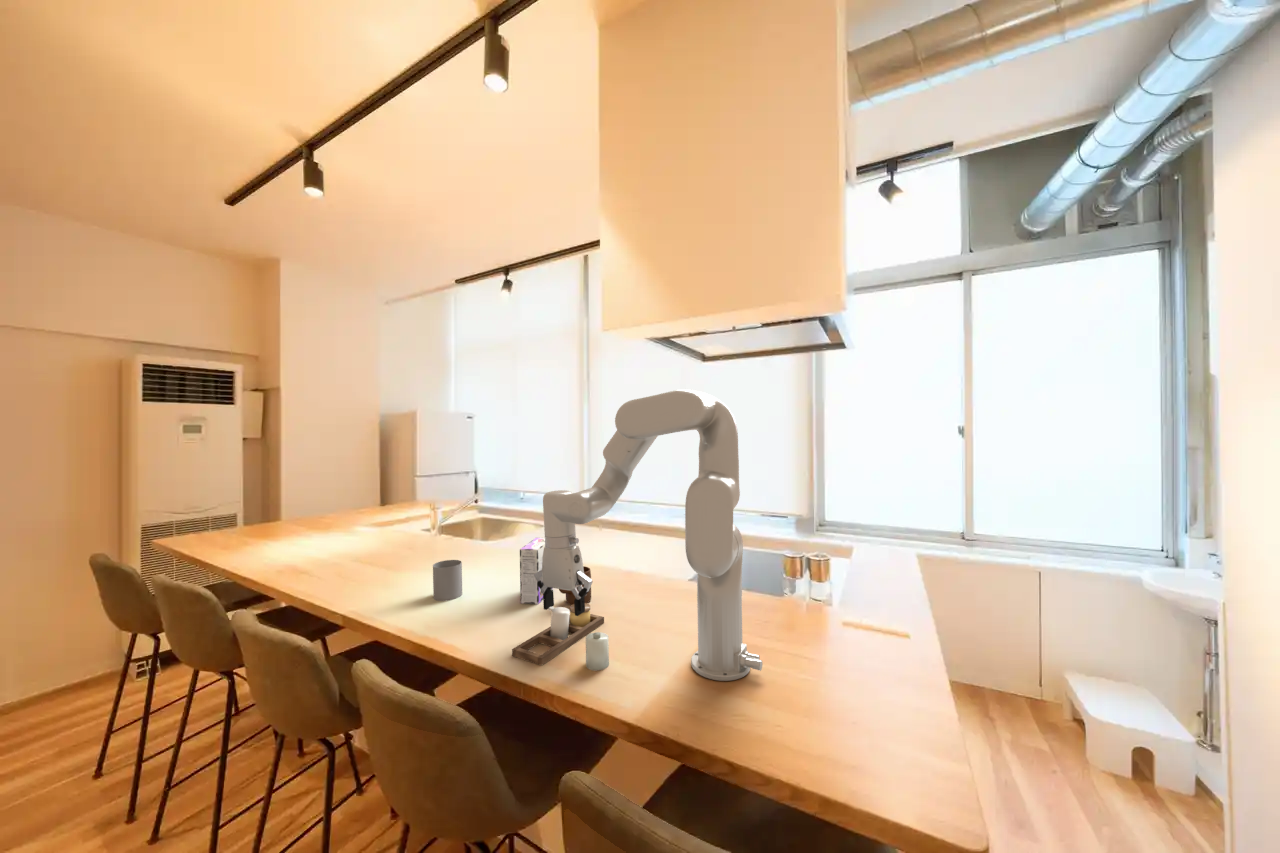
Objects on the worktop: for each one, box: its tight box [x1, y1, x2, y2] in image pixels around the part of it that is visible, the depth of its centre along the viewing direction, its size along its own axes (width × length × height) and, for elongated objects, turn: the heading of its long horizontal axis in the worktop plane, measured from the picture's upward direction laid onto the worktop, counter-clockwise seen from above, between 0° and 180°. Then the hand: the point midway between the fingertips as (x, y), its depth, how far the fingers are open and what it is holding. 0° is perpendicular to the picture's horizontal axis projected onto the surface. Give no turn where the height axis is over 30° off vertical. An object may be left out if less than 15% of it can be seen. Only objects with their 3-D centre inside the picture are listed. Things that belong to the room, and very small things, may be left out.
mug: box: [558, 565, 592, 606], centre depth 137 cm, size 12×8×9 cm, turn 147°
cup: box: [432, 559, 463, 602], centre depth 145 cm, size 8×8×10 cm
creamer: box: [547, 606, 570, 640], centre depth 115 cm, size 6×4×6 cm
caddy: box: [511, 613, 605, 666], centre depth 115 cm, size 9×24×2 cm, turn 150°
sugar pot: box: [585, 631, 610, 672], centre depth 102 cm, size 5×5×7 cm
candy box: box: [519, 537, 553, 605], centre depth 144 cm, size 14×6×16 cm, turn 172°
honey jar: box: [569, 602, 591, 627], centre depth 122 cm, size 5×5×5 cm
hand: (564, 610), depth 115 cm, fingers open, 9 cm apart
